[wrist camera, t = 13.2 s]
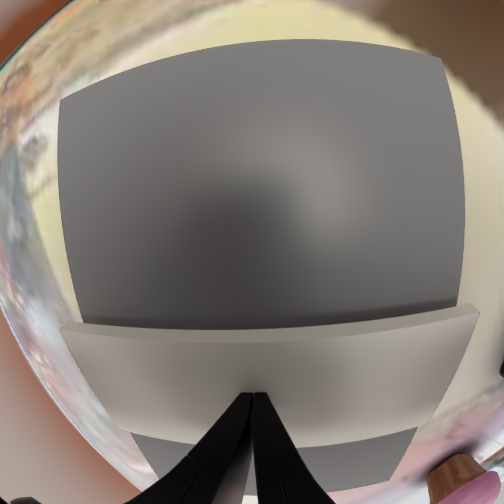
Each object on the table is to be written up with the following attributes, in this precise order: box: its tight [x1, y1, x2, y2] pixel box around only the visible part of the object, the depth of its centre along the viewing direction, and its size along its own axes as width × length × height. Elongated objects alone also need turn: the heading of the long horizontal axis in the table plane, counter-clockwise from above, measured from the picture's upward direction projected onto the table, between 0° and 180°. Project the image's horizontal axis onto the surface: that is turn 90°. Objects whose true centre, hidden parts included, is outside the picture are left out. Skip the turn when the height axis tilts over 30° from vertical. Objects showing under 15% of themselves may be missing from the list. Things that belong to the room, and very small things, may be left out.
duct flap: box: [59, 303, 480, 448], centre depth 9 cm, size 15×6×1 cm, turn 95°
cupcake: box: [427, 454, 501, 504], centre depth 11 cm, size 9×9×10 cm
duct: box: [58, 39, 465, 496], centre depth 11 cm, size 15×22×4 cm, turn 5°
